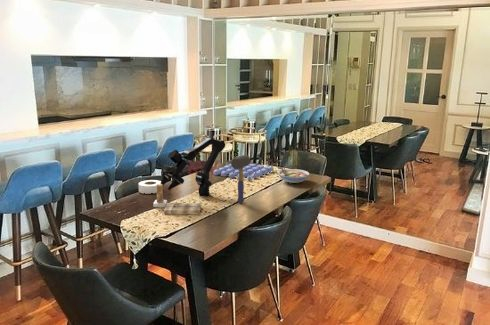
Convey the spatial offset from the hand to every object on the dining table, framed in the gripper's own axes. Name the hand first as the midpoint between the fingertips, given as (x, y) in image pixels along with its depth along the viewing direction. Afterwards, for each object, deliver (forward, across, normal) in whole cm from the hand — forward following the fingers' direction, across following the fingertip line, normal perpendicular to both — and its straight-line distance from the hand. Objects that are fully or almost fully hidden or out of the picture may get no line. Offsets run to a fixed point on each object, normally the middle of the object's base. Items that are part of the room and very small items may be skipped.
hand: (164, 188), depth 243 cm
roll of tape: (+2, -32, +13) cm, 35 cm away
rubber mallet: (-19, +29, +34) cm, 48 cm away
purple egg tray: (-53, -23, +68) cm, 89 cm away
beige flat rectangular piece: (+6, +17, +9) cm, 20 cm away
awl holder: (+10, 0, +5) cm, 11 cm away
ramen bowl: (-61, +20, +75) cm, 99 cm away
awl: (+10, 0, +5) cm, 11 cm away
